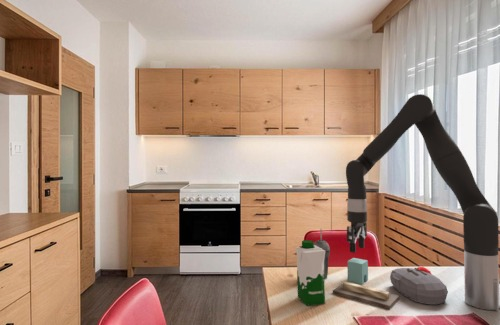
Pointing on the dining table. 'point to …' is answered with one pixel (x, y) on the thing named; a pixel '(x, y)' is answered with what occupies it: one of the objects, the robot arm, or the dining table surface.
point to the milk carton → (310, 273)
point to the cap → (424, 269)
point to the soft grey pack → (419, 285)
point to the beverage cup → (325, 247)
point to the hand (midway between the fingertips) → (357, 250)
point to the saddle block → (357, 270)
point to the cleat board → (366, 295)
